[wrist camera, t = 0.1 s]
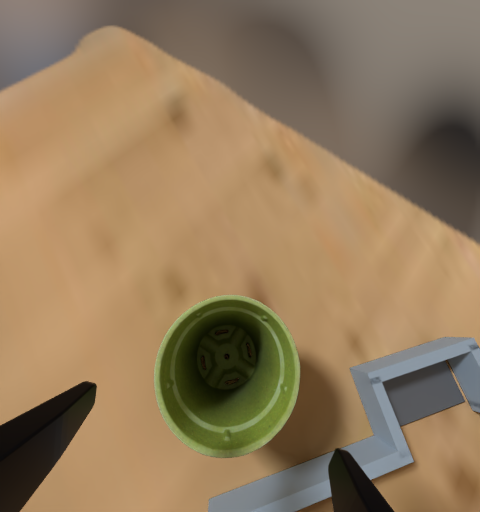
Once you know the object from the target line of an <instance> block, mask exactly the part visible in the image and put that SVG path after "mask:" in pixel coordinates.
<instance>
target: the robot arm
mask: <svg viewBox="0 0 480 512" xmlns="http://www.w3.org/2000/svg"><path fill="white" fill-rule="evenodd" d="M96 388H97V386H96V384H95V383H92V382H88V381H85V382H82V383H80V384H78V385H76V386H75V387H73V388H71V389H69V390H67V391H65V392H63V393H61V394H59V395H57V396H56V397H54V398H52V399H50V400H48V401H46V402H44V403H42V404H40V405H38V406H37V407H35V408H33V409H31V410H29V411H27V412H25V413H23V414H21V415H19V416H18V417H16V418H14V419H12V420H10V421H8V422H6V423H4V424H2V425H0V512H20V510H21V509H22V508H23V507H24V505H25V504H26V503H27V501H28V500H29V499H30V497H31V496H32V495H33V493H34V492H35V491H36V489H37V488H38V487H39V485H40V484H41V483H42V481H43V480H44V479H45V477H46V476H47V475H48V474H49V472H50V471H51V470H52V468H53V467H54V466H55V464H56V463H57V461H58V460H59V459H60V457H61V456H62V454H63V453H64V451H65V450H66V448H67V447H68V445H69V444H70V442H71V440H72V439H73V437H74V436H75V434H76V433H77V431H78V430H79V428H80V426H81V425H82V423H83V422H84V420H85V419H86V417H87V416H88V414H89V412H90V411H91V409H92V407H93V405H94V403H95V397H96ZM328 474H329V481H330V488H331V495H332V503H333V510H334V512H394V511H393V509H392V508H391V507H390V505H389V504H388V503H387V501H386V500H385V499H384V497H383V496H382V495H381V493H380V492H379V491H378V489H377V488H376V487H375V486H374V484H373V483H372V482H371V480H370V479H369V478H368V476H367V475H366V474H365V472H364V471H363V470H362V468H361V467H360V466H359V464H358V463H357V462H356V460H355V459H354V458H353V456H352V455H351V454H350V453H349V452H348V451H346V450H343V449H339V448H337V449H335V451H334V453H333V456H332V458H331V460H330V462H329V465H328Z"/></svg>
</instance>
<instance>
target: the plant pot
mask: <svg viewBox="0 0 480 512" xmlns="http://www.w3.org/2000/svg"><path fill="white" fill-rule="evenodd" d="M219 330H228V333H222V334H219V335H215V334H216V332H217V331H219ZM246 343H249V346H250V349H251V351H252V356H251V357H249V355H248V349H247V346H246ZM225 354H229V358H228V359H225V357H224V356H225ZM203 355H204V358H205V366H206V370H204V369H203V367H202V362H201V358H202V356H203ZM237 378H239V379H238V381H237V382H235V383H233V384H230V385H227V384H225V381H229V380H233V379H237ZM299 384H300V362H299V356H298V352H297V349H296V345H295V342H294V340H293V338H292V336H291V333H290V332H289V330H288V328H287V327H286V325H285V324H284V322H283V321H282V320H281V319H280V317H279V316H278V315H277V314H276V313H274V312H273V311H272V310H271V309H270V308H268V307H267V306H265V305H264V304H262V303H261V302H258V301H256V300H254V299H251V298H248V297H244V296H238V295H223V296H217V297H213V298H210V299H207V300H204V301H202V302H200V303H198V304H196V305H194V306H193V307H191V308H190V309H188V310H187V311H186V312H185V313H183V314H182V315H181V316H180V317H179V318H178V319H177V320H176V321H175V323H174V324H173V325H172V326H171V328H170V329H169V330H168V332H167V334H166V335H165V337H164V339H163V341H162V343H161V346H160V348H159V351H158V355H157V358H156V363H155V370H154V385H155V394H156V400H157V403H158V407H159V409H160V412H161V414H162V416H163V418H164V420H165V422H166V424H167V425H168V427H169V428H170V430H171V431H172V432H173V433H174V435H175V436H176V437H177V438H178V439H179V440H181V441H182V442H183V443H184V444H185V445H187V446H188V447H190V448H191V449H193V450H195V451H197V452H199V453H201V454H204V455H207V456H210V457H216V458H232V457H239V456H243V455H246V454H249V453H251V452H253V451H255V450H257V449H259V448H261V447H262V446H264V445H265V444H267V443H268V442H269V441H270V440H271V439H272V438H273V437H274V436H275V435H276V434H277V433H278V432H279V431H280V430H281V429H282V428H283V426H284V425H285V423H286V422H287V420H288V418H289V417H290V415H291V413H292V411H293V408H294V406H295V403H296V400H297V396H298V391H299Z"/></svg>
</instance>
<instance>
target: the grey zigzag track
mask: <svg viewBox="0 0 480 512" xmlns="http://www.w3.org/2000/svg"><path fill="white" fill-rule="evenodd" d="M445 360H448V362H449V364H450V366H451V368H452V370H453V372H454V374H455V376H456V378H457V380H458V382H459V384H460V386H461V388H462V390H463V392H464V394H465V396H466V398H467V400H468V402H469V404H470V406H471V408H472V410H473V411H476V412H479V413H480V348H479V347H478V345H477V343H476V341H475V339H474V338H464V337H443V338H440V339H437V340H434V341H431V342H428V343H425V344H422V345H419V346H416V347H413V348H410V349H407V350H403V351H400V352H397V353H394V354H391V355H388V356H385V357H382V358H379V359H376V360H373V361H370V362H367V363H364V364H360V365H357V366H354V367H351V368H350V371H351V374H352V377H353V379H354V382H355V385H356V387H357V390H358V393H359V395H360V398H361V401H362V404H363V406H364V409H365V412H366V414H367V417H368V420H369V422H370V425H371V428H372V431H373V433H374V436H372V437H369V438H366V439H364V440H361V441H359V442H356V443H353V444H351V445H348V446H346V447H343V448H340V449H343V450H346V451H348V452H349V453H350V454H351V455H352V456H353V458H354V459H355V460H356V462H357V463H358V464H359V466H360V467H361V468H362V470H363V471H364V472H365V474H366V475H367V476H368V478H369V479H370V480H372V479H374V478H376V477H379V476H381V475H383V474H386V473H388V472H391V471H393V470H395V469H398V468H400V467H403V466H405V465H407V464H410V463H412V462H414V461H413V458H412V456H411V453H410V451H409V448H408V446H407V443H406V441H405V438H404V436H403V433H402V431H401V428H400V426H402V425H405V424H407V423H410V422H413V421H415V420H418V419H420V418H423V417H426V416H428V415H431V414H433V413H436V412H438V411H441V410H444V409H446V408H449V407H451V406H454V405H457V404H459V403H462V402H464V401H465V400H464V398H463V396H462V394H461V392H460V390H459V388H458V386H457V384H456V382H455V380H454V378H453V376H452V374H451V372H450V370H449V368H448V366H447V364H446V362H445ZM333 453H334V451H333V452H330V453H327V454H325V455H322V456H320V457H317V458H315V459H312V460H309V461H307V462H304V463H302V464H299V465H296V466H294V467H291V468H289V469H286V470H283V471H281V472H278V473H276V474H273V475H270V476H268V477H265V478H263V479H260V480H257V481H255V482H252V483H250V484H247V485H244V486H242V487H239V488H237V489H234V490H231V491H229V492H226V493H224V494H221V495H218V496H216V497H213V498H211V499H209V507H208V512H295V511H298V510H300V509H302V508H305V507H307V506H310V505H312V504H314V503H317V502H319V501H321V500H324V499H326V498H329V497H331V496H332V495H331V488H330V481H329V474H328V465H329V462H330V460H331V458H332V456H333Z"/></svg>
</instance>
